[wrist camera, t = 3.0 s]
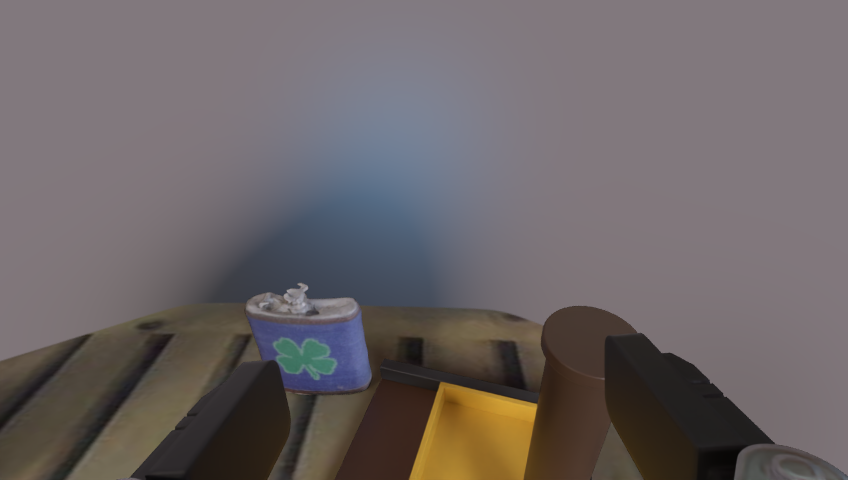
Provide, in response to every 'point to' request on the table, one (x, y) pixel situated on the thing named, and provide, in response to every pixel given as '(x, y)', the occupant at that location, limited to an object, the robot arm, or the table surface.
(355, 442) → the track
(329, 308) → the flask
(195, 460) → the robot arm
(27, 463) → the table surface
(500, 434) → the tray
